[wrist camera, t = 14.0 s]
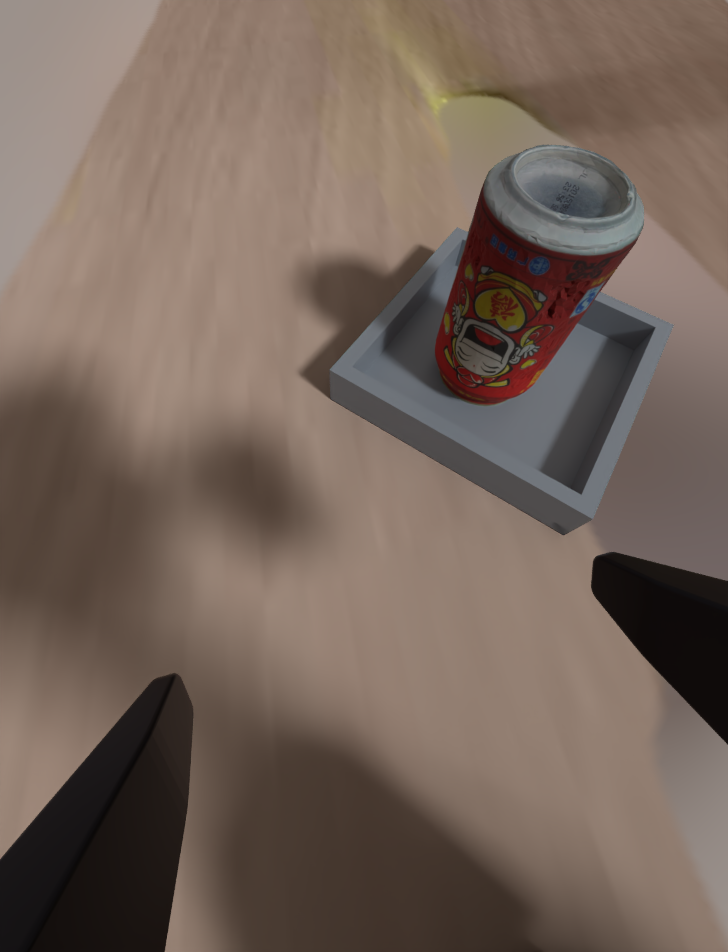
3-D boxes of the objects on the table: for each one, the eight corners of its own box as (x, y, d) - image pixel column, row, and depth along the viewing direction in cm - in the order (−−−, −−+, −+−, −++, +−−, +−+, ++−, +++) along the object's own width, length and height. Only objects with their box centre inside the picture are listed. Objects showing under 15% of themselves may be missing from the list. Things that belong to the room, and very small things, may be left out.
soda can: (413, 391, 27) (467, 197, 15) (447, 321, 29) (514, 115, 18) (514, 432, 26) (649, 257, 15) (539, 356, 29) (668, 161, 17)
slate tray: (643, 355, 30) (673, 324, 27) (563, 535, 24) (592, 519, 21) (447, 262, 33) (457, 227, 31) (330, 399, 27) (329, 369, 24)
